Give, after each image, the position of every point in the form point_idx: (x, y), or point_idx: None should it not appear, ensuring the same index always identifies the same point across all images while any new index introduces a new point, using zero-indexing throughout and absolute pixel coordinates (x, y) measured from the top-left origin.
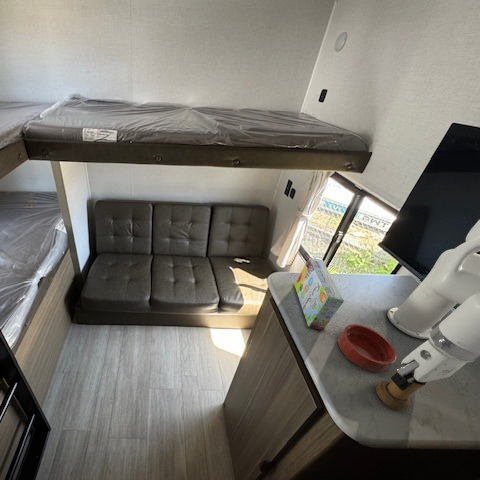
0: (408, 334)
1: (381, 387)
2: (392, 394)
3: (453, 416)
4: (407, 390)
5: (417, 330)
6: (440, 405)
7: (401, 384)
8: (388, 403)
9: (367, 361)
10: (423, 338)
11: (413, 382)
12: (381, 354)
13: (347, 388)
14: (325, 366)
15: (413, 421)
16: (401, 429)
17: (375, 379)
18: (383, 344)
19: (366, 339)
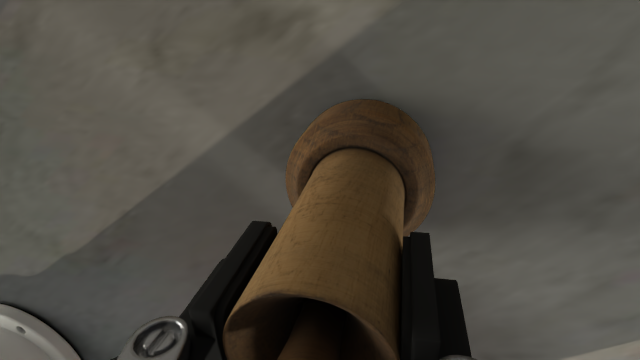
0: (55, 332)
1: (414, 229)
2: (404, 190)
3: (97, 29)
4: (383, 226)
5: (11, 345)
6: (123, 85)
7: (460, 304)
8: (427, 144)
9: None
10: (8, 308)
11: (388, 335)
12: None
13: (568, 247)
14: (576, 349)
15: (336, 37)
16: (459, 6)
17: None
18: None
19: None
